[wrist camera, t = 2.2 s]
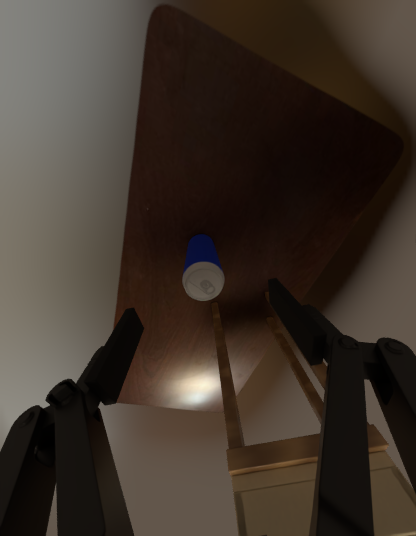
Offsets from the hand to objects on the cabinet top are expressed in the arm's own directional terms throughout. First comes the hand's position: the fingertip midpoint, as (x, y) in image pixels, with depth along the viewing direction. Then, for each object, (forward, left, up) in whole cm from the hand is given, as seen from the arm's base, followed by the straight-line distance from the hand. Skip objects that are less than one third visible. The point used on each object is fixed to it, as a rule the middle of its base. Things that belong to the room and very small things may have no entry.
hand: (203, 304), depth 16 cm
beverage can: (0, 0, -19) cm, 19 cm away
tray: (-7, +19, +7) cm, 22 cm away
